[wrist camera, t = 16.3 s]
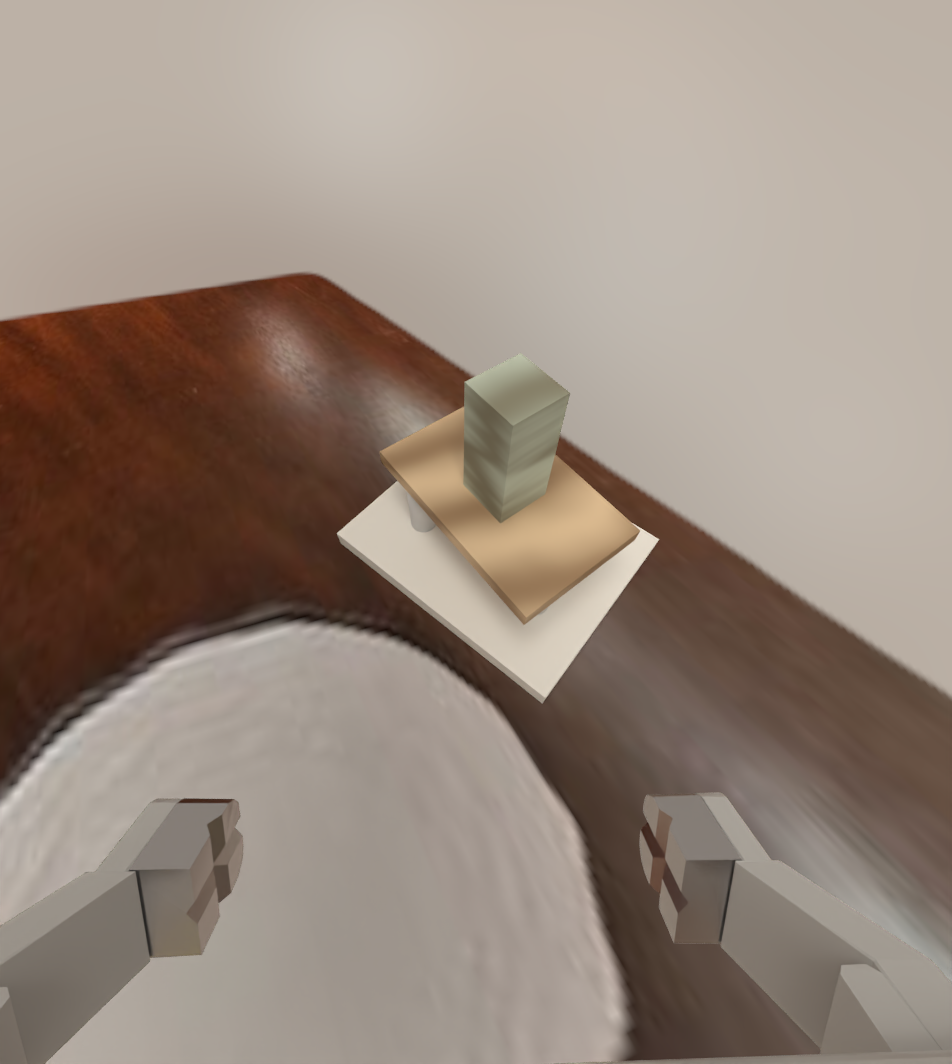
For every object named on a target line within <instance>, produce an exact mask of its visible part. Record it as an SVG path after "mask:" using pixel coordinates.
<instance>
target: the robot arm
mask: <svg viewBox="0 0 952 1064" xmlns="http://www.w3.org/2000/svg"><path fill="white" fill-rule="evenodd" d="M643 812H644V815H645V817H646V819H647V821H648V822H647V823H646V825H645V826H644V827H643V828H642V829H641V833H640V852H641V861H642V864H643V868H644V872H645V874H646V877H647V880H648V882H649V885H650V886H652V887H653V888H654V889H655V890H656V891H657V892H659V893H660V902H659V909H660V911H661V914H662V916H663V918H664V921H665V923H666V926H667V928H668V930H669V933H670V935H671V937H672V940H673V942H674V943H693V944H721V947H722V948H723V949H724V950H725V952H726V953H727V954H728V955H729V956H730V957H731V958H732V959H733V960H734V961H735V962H736V963H737V964H738V965H739V966H740V967H741V968H742V969H743V970H744V971H745V972H746V973H747V974H748V975H749V976H750V977H751V978H752V979H753V980H754V981H755V982H756V983H757V984H758V985H759V986H760V987H761V988H762V989H763V990H764V991H765V992H766V993H767V994H768V995H769V996H770V997H771V998H772V999H773V1000H774V1002H775V1003H776V1004H777V1005H778V1006H779V1007H780V1008H781V1009H782V1010H783V1011H784V1012H785V1013H786V1014H787V1015H788V1016H789V1017H790V1018H791V1019H792V1020H793V1021H794V1022H795V1023H796V1024H797V1025H798V1026H799V1027H800V1028H801V1029H802V1030H803V1031H804V1032H805V1033H806V1034H807V1035H808V1036H809V1037H810V1038H811V1039H812V1040H813V1041H814V1042H815V1043H816V1044H817V1045H818V1046H819V1047H820V1048H821V1050H820V1054H812V1055H783V1056H754V1057H724V1058H695V1059H667V1060H639V1061H611V1062H584V1063H556V1064H952V983H951V982H950V981H949V979H948V978H947V977H946V976H945V975H944V974H943V972H942V971H941V970H940V969H939V968H938V967H937V966H936V964H935V963H934V962H933V961H932V960H931V959H929V958H928V957H926V956H924V955H923V954H921V953H920V952H918V951H917V950H915V949H914V948H912V947H911V946H909V945H908V944H906V943H905V942H903V941H902V940H900V939H899V938H897V937H896V936H894V935H892V934H891V933H889V932H888V931H886V930H885V929H883V928H882V927H880V926H879V925H877V924H876V923H874V922H873V921H871V920H870V919H868V918H867V917H865V916H863V915H862V914H860V913H859V912H857V911H856V910H854V909H853V908H851V907H850V906H848V905H847V904H845V903H844V902H842V901H841V900H839V899H838V898H836V897H835V896H833V895H831V894H830V893H828V892H827V891H825V890H824V889H822V888H821V887H819V886H818V885H816V884H815V883H813V882H812V881H810V880H809V879H807V878H806V877H804V876H803V875H801V874H799V873H798V872H796V871H795V870H793V869H792V868H790V867H789V866H787V865H786V864H784V863H783V862H781V861H780V860H771V859H770V857H769V856H768V855H767V853H766V852H765V850H764V849H763V848H762V846H761V845H760V843H759V842H758V841H757V839H756V838H755V836H754V835H753V834H752V832H751V831H750V829H749V828H748V827H747V825H746V824H745V822H744V821H743V820H742V818H741V817H740V815H739V814H738V813H737V811H736V810H735V809H734V807H733V806H732V804H731V803H730V802H729V800H728V799H727V797H726V796H725V795H723V794H722V793H720V792H716V793H696V794H650V795H647V796H646V798H645V800H644V807H643ZM239 818H240V810H239V803H238V801H236V800H234V799H156V800H154V801H153V802H151V803H150V804H149V805H148V806H147V807H146V808H145V809H144V811H143V812H142V813H141V815H140V816H139V817H138V818H137V820H136V821H135V822H134V823H133V825H132V826H131V827H130V828H129V830H128V831H127V832H126V833H125V835H124V836H123V837H122V838H121V840H120V841H119V842H118V843H117V845H116V846H115V847H114V849H113V850H112V851H111V852H110V854H109V855H108V856H107V857H106V859H105V860H104V861H103V862H102V864H101V865H100V866H99V867H98V869H97V870H96V871H95V872H86V873H84V874H83V875H81V876H79V877H78V878H76V879H75V880H73V881H71V882H70V883H68V884H67V885H65V886H63V887H62V888H60V889H59V890H57V891H55V892H54V893H52V894H51V895H49V896H47V897H46V898H44V899H43V900H41V901H39V902H38V903H36V904H35V905H33V906H31V907H30V908H28V909H27V910H25V911H23V912H22V913H20V914H19V915H17V916H15V917H14V918H12V919H11V920H9V921H7V922H6V923H4V924H3V925H1V926H0V1064H45V1063H46V1062H47V1061H48V1060H49V1059H50V1058H51V1057H52V1056H53V1055H54V1054H55V1053H56V1052H57V1051H58V1050H59V1049H60V1048H61V1047H62V1046H63V1045H64V1044H65V1043H66V1042H67V1041H68V1040H69V1039H71V1038H72V1037H73V1036H74V1035H75V1034H76V1033H77V1032H78V1031H79V1030H80V1029H81V1028H82V1027H83V1026H84V1025H85V1024H86V1023H87V1022H88V1021H89V1020H90V1019H91V1018H92V1017H93V1016H94V1015H95V1014H96V1013H97V1012H98V1011H99V1010H100V1009H101V1008H102V1007H103V1006H104V1005H106V1004H107V1003H108V1002H109V1001H110V1000H111V999H112V998H113V997H114V996H115V995H116V994H117V993H118V992H119V991H120V990H121V989H122V988H123V987H124V986H125V985H126V984H127V983H128V982H129V981H130V980H131V979H132V978H133V977H134V976H135V975H136V974H137V973H138V972H140V971H141V970H142V969H143V968H144V967H145V966H146V965H147V964H148V963H149V962H150V958H155V957H172V956H190V955H202V953H203V951H204V949H205V947H206V945H207V943H208V940H209V938H210V936H211V934H212V932H213V930H214V928H215V926H216V924H217V922H218V919H219V917H220V913H219V904H218V903H219V902H221V901H222V900H223V899H224V898H225V897H227V896H228V895H229V894H230V893H231V892H232V890H233V887H234V885H235V883H236V881H237V878H238V875H239V871H240V867H241V864H242V859H243V836H242V835H241V833H240V832H239V831H238V830H237V829H236V828H235V826H236V824H237V822H238V820H239Z"/></svg>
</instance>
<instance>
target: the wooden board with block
mask: <svg viewBox="0 0 952 1064" xmlns="http://www.w3.org/2000/svg"><path fill="white" fill-rule="evenodd" d="M569 396H570V393H569V392H568V391H567V390H566V389H564V388H563V387H562V386H560V385H559V384H558V383H557V382H555V381H554V380H553V379H552V378H551V377H549V376H548V375H547V374H546V373H545V372H543V371H542V370H541V369H539V368H538V367H537V366H536V365H535V364H533V363H532V362H531V361H530V360H529V359H527V358H526V357H525V356H523V355H522V354H519V355H517V356H515V357H513V358H511V359H509V360H507V361H505V362H503V363H501V364H499V365H497V366H495V367H493V368H491V369H489V370H487V371H485V372H484V373H481V374H479V375H478V376H476V377H474V378H472V379H470V380H468V381H466V382H465V399H464V407H462V408H460V409H459V410H457V411H455V412H453V413H451V414H449V415H447V416H445V417H444V418H442V419H440V420H438V421H436V422H434V423H432V424H430V425H429V426H427V427H425V428H423V429H421V430H419V431H417V432H415V433H413V434H412V435H410V436H408V437H406V438H404V439H402V440H400V441H398V442H397V443H395V444H393V445H391V446H389V447H387V448H385V449H383V450H382V451H380V457H381V462H382V464H383V465H384V466H385V467H386V468H387V469H388V470H389V471H390V473H391V474H392V475H393V476H394V477H395V478H396V479H397V481H398V482H399V483H400V484H401V485H402V486H403V487H404V489H405V490H406V491H407V492H408V493H409V494H410V495H411V497H412V498H413V499H414V500H415V501H416V502H417V503H418V505H419V506H420V507H421V508H422V509H423V510H424V511H425V513H426V514H427V515H428V516H429V517H430V518H431V519H432V521H433V522H434V523H435V524H436V525H437V526H438V527H439V529H440V530H441V531H442V532H443V533H444V534H445V535H446V537H447V538H448V539H449V540H450V541H451V542H452V543H453V545H454V546H455V547H456V548H457V549H458V550H459V551H460V553H461V554H462V555H463V556H464V557H465V558H466V559H467V561H468V562H469V563H470V564H471V565H472V566H473V567H474V569H475V570H476V571H477V572H478V573H479V574H480V575H481V577H482V578H483V579H484V580H485V581H486V582H487V583H488V585H489V586H490V587H491V588H492V589H493V590H494V591H495V593H496V594H497V595H498V596H499V597H500V598H501V599H502V601H503V602H504V603H505V604H506V605H507V606H508V607H509V609H510V610H511V611H512V612H513V613H514V614H515V615H516V617H517V618H518V619H519V620H520V621H521V622H522V623H523V625H525V624H526V623H527V622H529V621H530V620H531V619H533V618H534V617H535V616H537V615H538V614H539V613H541V612H542V611H543V610H544V609H546V608H547V607H548V606H550V605H551V604H552V603H554V602H555V601H556V600H557V599H559V598H560V597H561V596H563V595H564V594H565V593H567V592H568V591H569V590H571V589H572V588H573V587H574V586H576V585H577V584H578V583H580V582H581V581H582V580H584V579H585V578H586V577H587V576H589V575H590V574H591V573H593V572H594V571H595V570H597V569H598V568H599V567H601V566H602V565H603V564H604V563H606V562H607V561H608V560H610V559H611V558H612V557H614V556H615V555H616V554H618V553H619V552H620V551H621V550H623V549H624V548H625V547H627V546H628V545H629V544H631V543H632V542H633V541H634V540H635V539H636V537H637V536H638V534H639V532H640V530H639V529H638V528H637V527H636V526H634V525H633V524H632V523H631V522H630V521H629V520H628V519H627V518H626V517H624V516H623V515H622V514H621V513H620V512H619V511H618V510H617V509H616V508H614V507H613V506H612V505H611V504H610V503H609V502H608V501H607V500H605V499H604V498H603V497H602V496H601V495H600V494H599V493H598V492H597V491H595V490H594V489H593V488H592V487H591V486H590V485H589V484H588V483H587V482H585V481H584V480H583V479H582V478H581V477H580V476H579V475H578V474H576V473H575V472H574V471H573V470H572V469H571V468H570V467H569V466H568V465H566V464H565V463H564V462H563V461H562V460H561V459H560V458H559V457H558V456H556V455H555V452H556V448H557V444H558V440H559V436H560V432H561V428H562V424H563V420H564V416H565V412H566V408H567V404H568V399H569Z"/></svg>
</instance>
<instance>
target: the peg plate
mask: <svg viewBox="0 0 952 1064" xmlns="http://www.w3.org/2000/svg"><path fill="white" fill-rule="evenodd" d="M632 524H633V523H632ZM633 525H634V526H636V525H635V524H633ZM636 527H637V528H638V529H639V530H640V532H639V534H638V536H637V537H636V539H635V540H634V541H633V542H632V543H631V544H629V545H628V546H627V547H625V548H624V549H623V550H621V551H620V552H619V553H618V554H616V555H615V556H614V557H612V558H611V559H610V560H608V561H607V562H606V563H604V564H603V565H602V566H601V567H599V568H598V569H597V570H595V571H594V572H593V573H591V574H590V575H589V576H587V577H586V578H585V579H584V580H582V581H581V582H580V583H578V584H577V585H576V586H574V587H573V588H572V589H571V590H569V591H568V592H567V593H565V594H564V595H563V596H561V597H560V598H559V599H557V600H556V601H555V602H554V603H552V604H551V605H550V606H548V607H547V608H546V609H544V610H543V611H542V612H541V613H539V614H538V615H537V616H535V617H534V618H533V619H531V620H530V621H529V622H527V623H526V624H525V625H523V623H522V622H521V621H520V620H519V619H518V618H517V617H516V615H515V614H514V613H513V612H512V611H511V610H510V609H509V607H508V606H507V605H506V604H505V603H504V602H503V601H502V599H501V598H500V597H499V596H498V595H497V594H496V593H495V591H494V590H493V589H492V588H491V587H490V586H489V585H488V583H487V582H486V581H485V580H484V579H483V578H482V577H481V575H480V574H479V573H478V572H477V571H476V570H475V569H474V567H473V566H472V565H471V564H470V563H469V562H468V561H467V559H466V558H465V557H464V556H463V555H462V554H461V553H460V551H459V550H458V549H457V548H456V547H455V546H454V545H453V543H452V542H451V541H450V540H449V539H448V538H447V537H446V535H445V534H444V533H443V532H442V531H441V530H440V529H439V527H438V526H437V525H436V524H435V523H434V522H433V521H432V519H431V518H430V517H429V516H428V515H427V514H426V513H425V511H424V510H423V509H422V508H421V507H420V506H419V505H418V503H417V502H416V501H415V500H414V499H413V498H412V497H411V495H410V494H409V493H408V492H407V491H406V490H405V489H404V487H403V486H402V485H401V484H400V483H399V482H398V481H397V482H395V483H394V484H393V485H392V486H391V487H390V488H389V489H387V490H386V491H385V492H384V493H383V494H382V495H380V496H379V497H378V498H377V499H376V500H375V501H374V502H372V503H371V504H370V505H369V506H368V507H367V508H366V509H364V510H363V511H362V512H361V513H360V514H359V515H357V516H356V517H355V518H354V519H353V520H352V521H351V522H349V523H348V524H347V525H346V526H345V527H344V528H343V529H341V530H340V531H339V532H338V533H337V535H338V538H339V540H340V543H341V544H342V545H344V546H345V547H346V548H347V549H349V550H350V551H351V552H352V553H354V554H355V555H356V556H357V557H359V558H360V559H361V560H362V561H364V562H365V563H366V564H367V565H369V566H370V567H371V568H372V569H374V570H375V571H376V572H377V573H379V574H380V575H381V576H383V577H384V578H385V579H386V580H388V581H389V582H390V583H391V584H393V585H394V586H395V587H396V588H398V589H399V590H400V591H401V592H403V593H404V594H405V595H406V596H408V597H409V598H410V599H411V600H413V601H414V602H415V603H416V604H418V605H419V606H420V607H421V608H423V609H424V610H425V611H427V612H428V613H429V614H430V615H432V616H433V617H434V618H435V619H437V620H438V621H439V622H440V623H442V624H443V625H444V626H445V627H447V628H448V629H449V630H450V631H452V632H453V633H454V634H455V635H457V636H458V637H459V638H460V639H462V640H463V641H464V642H466V643H467V644H468V645H469V646H471V647H472V648H473V649H474V650H476V651H477V652H478V653H479V654H481V655H482V656H483V657H484V658H486V659H487V660H488V661H489V662H491V663H492V664H493V665H494V666H496V667H497V668H498V669H499V670H501V671H502V672H503V673H504V674H506V675H507V676H508V677H510V678H511V679H512V680H513V681H515V682H516V683H517V684H518V685H520V686H521V687H522V688H523V689H525V690H526V691H527V692H528V693H530V694H531V695H532V696H533V697H535V698H536V699H537V700H538V701H540V702H541V703H543V702H544V700H545V699H546V698H547V696H548V695H549V693H550V692H551V691H552V689H553V688H554V686H555V685H556V684H557V682H558V681H559V679H560V678H561V677H562V675H563V674H564V672H565V671H566V670H567V668H568V667H569V665H570V664H571V663H572V661H573V660H574V658H575V657H576V656H577V654H578V653H579V651H580V650H581V649H582V647H583V646H584V644H585V643H586V642H587V640H588V639H589V637H590V636H591V635H592V633H593V632H594V630H595V629H596V628H597V626H598V625H599V623H600V622H601V621H602V619H603V618H604V616H605V615H606V614H607V612H608V611H609V609H610V608H611V607H612V605H613V604H614V602H615V601H616V600H617V598H618V597H619V595H620V594H621V593H622V591H623V590H624V588H625V587H626V586H627V584H628V583H629V581H630V580H631V579H632V577H633V576H634V574H635V573H636V572H637V570H638V569H639V567H640V566H641V565H642V563H643V562H644V560H645V559H646V558H647V556H648V555H649V553H650V552H651V551H652V549H653V548H654V546H655V545H656V543H657V542H658V540H659V539H657V538H656V537H654V536H653V535H651V534H649V533H648V532H646V531H644V530H643V529H641V528H639V527H638V526H636Z"/></svg>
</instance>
